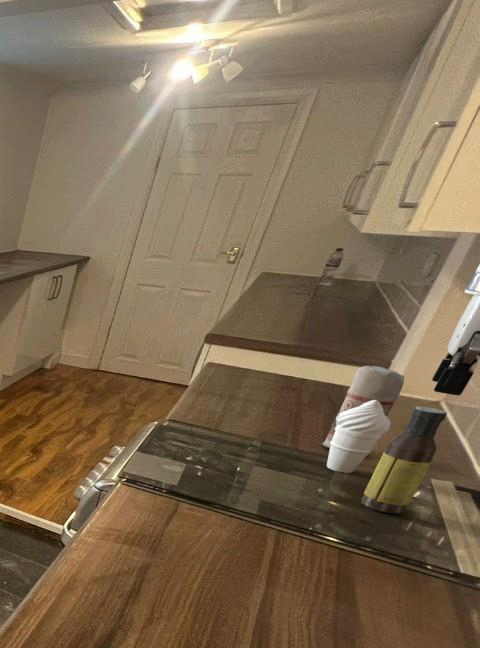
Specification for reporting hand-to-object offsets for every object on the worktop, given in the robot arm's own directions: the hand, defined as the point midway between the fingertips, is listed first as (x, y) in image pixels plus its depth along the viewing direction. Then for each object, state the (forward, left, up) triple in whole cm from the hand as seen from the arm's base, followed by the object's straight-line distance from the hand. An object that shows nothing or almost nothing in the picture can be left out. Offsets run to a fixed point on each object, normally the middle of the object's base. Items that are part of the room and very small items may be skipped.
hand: (445, 387), depth 101 cm
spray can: (+7, -34, -24) cm, 42 cm away
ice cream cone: (+7, -18, -24) cm, 31 cm away
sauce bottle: (0, 0, -24) cm, 24 cm away
